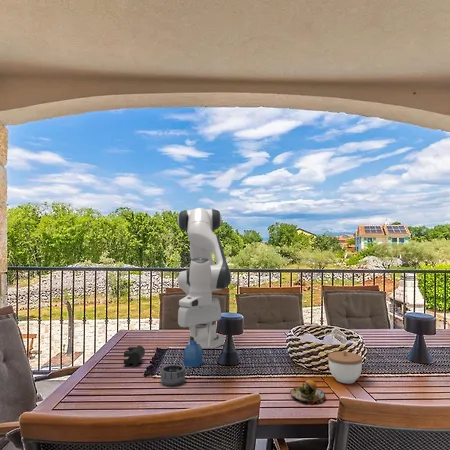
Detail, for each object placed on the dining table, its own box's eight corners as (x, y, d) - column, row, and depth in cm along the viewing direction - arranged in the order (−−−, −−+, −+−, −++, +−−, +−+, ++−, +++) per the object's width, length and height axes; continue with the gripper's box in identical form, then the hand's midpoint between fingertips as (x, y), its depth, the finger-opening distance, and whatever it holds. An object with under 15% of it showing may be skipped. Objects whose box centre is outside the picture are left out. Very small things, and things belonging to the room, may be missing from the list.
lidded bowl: (325, 374, 150) (324, 346, 150) (356, 374, 149) (356, 346, 150) (333, 386, 137) (332, 355, 138) (367, 386, 137) (366, 356, 137)
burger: (292, 389, 135) (291, 369, 135) (325, 393, 132) (325, 372, 132) (288, 403, 123) (287, 380, 124) (324, 407, 120) (324, 384, 120)
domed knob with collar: (174, 375, 149) (174, 363, 149) (189, 381, 142) (189, 368, 143) (155, 382, 142) (155, 368, 142) (170, 388, 136) (170, 374, 136)
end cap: (139, 367, 160) (139, 351, 160) (123, 367, 160) (123, 351, 160) (145, 360, 170) (145, 345, 170) (129, 360, 170) (129, 345, 170)
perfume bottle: (183, 365, 161) (183, 337, 162) (189, 361, 167) (189, 334, 167) (196, 367, 159) (196, 339, 160) (202, 363, 165) (202, 335, 165)
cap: (201, 337, 149) (201, 324, 149) (210, 339, 145) (210, 326, 146) (191, 340, 145) (191, 326, 145) (200, 342, 141) (200, 328, 142)
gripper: (213, 295, 156) (213, 329, 155) (175, 301, 141) (175, 338, 140) (224, 297, 151) (224, 331, 151) (186, 303, 136) (186, 341, 136)
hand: (200, 335), depth 145 cm, fingers closed on cap, 5 cm apart
